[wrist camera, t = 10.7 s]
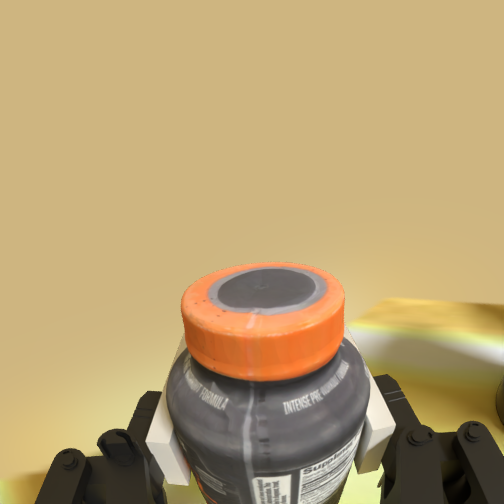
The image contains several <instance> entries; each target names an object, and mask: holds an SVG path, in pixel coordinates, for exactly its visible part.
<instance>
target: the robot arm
mask: <svg viewBox="0 0 504 504" xmlns="http://www.w3.org/2000/svg"><path fill="white" fill-rule="evenodd" d="M344 337H345V338H346V339H348V340H349V341H350V342H351V343H352V344H353V345H354V346H355V347H356V348H357V346H356V344H355V342H354V340H353V338H352V336H351V334H350V332H349V330H348V329H347V327H346V325H345V323H344ZM186 347H187V345H186V341H185V333H184V334H183V337H182V339H181V342H180V345H179V348H178V350H177V353H176V356H175V358H174V361H173V364H174V363H175V361H176V360H177V358H178V357H179V355H180V354H181V353H182V352H183V351H184V350H185V348H186ZM357 350H358V351H359V349H358V348H357ZM359 352H360V351H359ZM360 354H361V353H360ZM173 364H172V367H173ZM172 367H171V369H172ZM367 368H368V367H367ZM171 369H170V371H171ZM368 371H369V369H368ZM169 373H170V372H169ZM369 375H370V386H371V388H370V399H369V403H368V408H367V412H366V417H365V420H364V424H363V427H362V431H361V435H360V439H359V443H358V446H357V450H356V453H355V456H354V463H355V466H356V469H357V473H358V474H363V473H367V472H371V471H376V470H378V468H379V466H380V464H381V463H382V466H383V468H384V473H383V475H382V477H381V479H380V481H379V483H378V486H377V487H380V486H381V499H380V504H504V456H503V454H502V452H501V451H500V449H499V447H498V445H497V444H496V442H495V440H494V439H493V437H492V435H491V434H490V432H489V430H488V429H487V428H486V426H485V425H484V424H482V423H480V422H477V421H469V422H465V423H464V424H462V425H461V426H460V427H459V429H458V430H457V432H445V433H437V432H434V431H433V430H432V429H431V428H430V427H428V426H425V425H421V423H420V422H419V420H418V418H417V417H416V415H415V413H414V411H413V409H412V408H411V406H410V404H409V402H408V401H407V399H406V398H405V395H404V394H403V392H402V391H401V388H400V387H399V385H398V383H397V381H396V380H394V379H393V378H392V377H390V376H389V375H388V374H386V375H380V376H375V377H372V375H371V373H370V371H369ZM168 377H169V375H168ZM167 381H168V378H167ZM167 381H166V384H165V386H164V389H163V392H159V391H158V392H157V391H147V392H146V393H145V394H144V395H143V396H142V397H141V398H140V400H139V402H138V404H137V407H136V410H135V411H134V414H133V417H132V419H131V421H130V424H129V426H128V428H127V430H124V429H112V430H109V431H107V432H105V433H103V434H102V435H101V436H100V437H99V439H98V442H97V446H98V447H99V449H100V450H101V452H102V453H103V456H92V457H85V455H84V454H83V453H82V452H81V451H80V450H77V449H72V448H68V449H64V450H62V451H61V452H59V453H58V454H57V455H56V457H55V458H54V460H53V462H52V464H51V466H50V469H49V471H48V473H47V475H46V478H45V480H44V482H43V485H42V487H41V489H40V492H39V494H38V497H37V499H36V501H35V504H167V498H166V492H165V490H164V488H163V486H162V485H163V481H164V477H165V479H166V480H167V482H168V484H176V485H187V486H189V481H190V475H191V468H190V465H189V463H188V461H187V459H186V456H185V454H184V452H183V450H182V447H181V444H180V442H179V439H178V436H177V434H176V432H175V429H174V426H173V423H172V421H171V418H170V414H169V411H168V408H167V401H166V386H167ZM496 407H497V411H498V414H499V417H500V419H501V421H502V423H503V425H504V377H503V379H502V381H501V384H500V386H499V388H498V391H497V395H496Z"/></svg>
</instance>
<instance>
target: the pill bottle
mask: <svg viewBox="0 0 504 504" xmlns="http://www.w3.org/2000/svg"><path fill="white" fill-rule="evenodd" d="M344 299H345V297H344V290H343V287H342V285H341V284H340V282H339V281H338V280H337V279H336V278H335V277H334V276H332V275H331V274H329V273H327V272H326V271H324V270H321V269H318V268H315V267H311V266H307V265H303V264H295V263H288V262H263V263H251V264H245V265H238V266H234V267H229V268H226V269H222V270H219V271H216V272H213V273H211V274H209V275H206V276H204V277H202V278H201V279H199V280H197V281H195V282H194V283H193V284H192V285H191V286H189V288H188V289H187V290H186V291H185V292H184V294H183V297H182V299H181V312H182V317H183V322H184V328H185V341H186V345H187V347H186V348H185V350H184V351H183V352H182V353H181V354H180V355H179V357H178V358H177V360H176V361H175V363H174V364H173V367H172V369H171V371H170V373H169V377H168V381H167V386H166V401H167V408H168V411H169V414H170V418H171V421H172V423H173V426H174V429H175V432H176V434H177V436H178V439H179V442H180V444H181V447H182V450H183V452H184V454H185V456H186V459H187V461H188V463H189V465H190V468H191V470H192V472H193V474H194V477H195V479H196V481H197V484H198V486H199V489H200V491H201V493H202V494H203V496H204V498H205V500H206V502H207V504H338V503H339V500H340V497H341V494H342V492H343V489H344V486H345V483H346V481H347V477H348V474H349V471H350V468H351V465H352V462H353V459H354V456H355V453H356V450H357V446H358V443H359V439H360V435H361V431H362V427H363V424H364V420H365V417H366V412H367V408H368V403H369V399H370V388H371V386H370V375H369V371H368V368H367V365H366V362H365V360H364V359H363V357H362V355H361V354H360V352H359V351H358V350H357V348H356V347H355V346H354V345H353V344H352V343H351V342H350V341H349V340H348V339H346V338H345V337H344Z"/></svg>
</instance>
